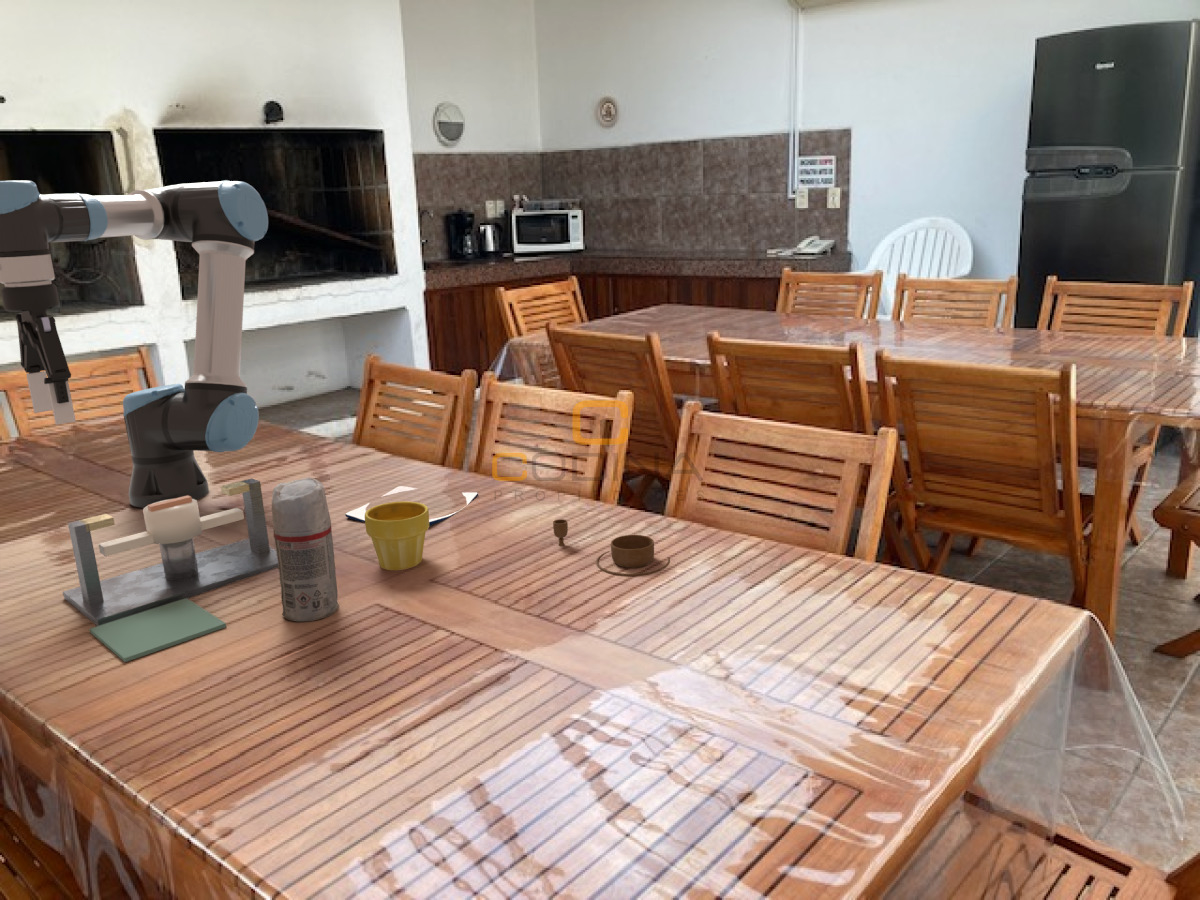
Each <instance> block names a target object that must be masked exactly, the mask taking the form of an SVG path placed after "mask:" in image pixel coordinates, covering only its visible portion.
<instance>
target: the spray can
mask: <svg viewBox="0 0 1200 900" xmlns="http://www.w3.org/2000/svg"><path fill="white" fill-rule="evenodd" d="M271 496H272V497H271V498H272V499H271V515H272V516H271V517H272V525H273V529H272V530H273V540H274V545H275V546H274V547H275V550H276V555H277V559H278V567H277V568H278V573H279V582H280V583H279V584H280V594H281V595H280V596H281V597H280V598H281V605H282V614H281V615H282V617H283V618H285V619H287V620H288V621H291V622H313V621H318V620H321V619H324V618H327V617H330V616H332V615H333V614H335V613H336V612H337V611H338V609H339V607H340V605H339V602H338V598H339V597H338V581H337V577H336V576H337V574H336V573H337V572H336V562H335V561H336V560H335V553H334V552H335V551H334V540H333V531H332V519H331V515H330V511H329V510H330V509H329V506H328V502H327V496H326V490H325V487H324V484H323V483H322V482H321V481H320V480H318V479H316V478H313V477H311V476H310V477H309V476H308V477H305V478H301V479H293V480H292V481H288V482H285V481H284V482H281V483H278V484H277V485H276V486H275V487H274V488H273V490H272V495H271Z"/></svg>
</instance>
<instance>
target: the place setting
mask: <svg viewBox="0 0 1200 900" xmlns="http://www.w3.org/2000/svg"><path fill="white" fill-rule="evenodd" d="M568 523H569V522H568V520H567V519H555V520H553V521H552V528H553V534H554V536H555V538H558V541H559V542H558V544H557V545H558V547H564V546H565V543H564V540H565V539H564V538H565V537H566V536H567V535H568V532H569V526H568V525H569V524H568ZM610 552H611V553H610ZM607 553H610V554H611V559H612V561H613V562H614V564H616V565H617V566H618V567H622V568H625V569H626V568H627V569H628V568H629V569H637V568H643V567H646V566H648V565H650V564H651V562H652V561H653V560H654V556H655V541H654V539H653V538H652V537H649V536H647V535H642V534H626V535H621V536H617V537H614V538H613V539H612V540H611V542H610V550H608V551H605V552H603V553H602V554H600V555H598V556H597V558H596V560H595V565H596V567H597V568H598V569H599V570H601V571H602V572H604V573H607V574H610V575H614V576H621V577H639V576H646V575H651V574H654V573H657V572H660V571H662V570H663V569H665V568H666V567H668V565H669V564H670V562H671V557H669V556H667V562H666V563H665V564H664V565H663V566H662V567H660V568H656V569H654V570H650V571H646V572H639V573H637V572H636V573H624V572H623V573H622V572H615V571H612V570H607V569H605V568H603V567H602V566H601V565H600V564H599V560H600V559H601V557H603V556H604V555H605V554H607Z"/></svg>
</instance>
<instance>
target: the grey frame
mask: <svg viewBox="0 0 1200 900" xmlns="http://www.w3.org/2000/svg"><path fill="white" fill-rule="evenodd" d="M220 489H221V490H220V491H221V494H223V495H226V496H228V497H232V496H235V495H240V494H242V499H243V506H244V512H245V518H246V519H245V520H246V526H247V532H248V538H245V539H242V540H241V539H240V540H239V541H235V542H231V543H228V544H225V545H221V546H217V547H212V548H211V549H206V550H203V551H200V552H196V548H195V543H194V542H195V541H194V538H192V539H189V540H186V541H182V542H177V543H170V544H159V549H160V554H161V555H160V556H161V561H162V562H161V563H158V564H154V565H151V566H148V567H143V568H139V569H137V570H134V571H130V572H127V573H123V574H120V575H116V576H112V577H109V578H105V579H102V580H100V575H99V574H100V573H99V569H98V564H97V560H96V559H97V558H96V555H95V549H94V544H93V539H92V533H91V532H92V531H97V530H100V529H104V528H108V527H112V526H115V525H116V524H115V519H114V516H112V515H110V514H108V513H103V514H99V515H96V516H91V517H86V518H84V519H83V518H82V519H78V520H75V521H71V522H67V525H68V531H69V535H70V540H71V541H70V542H71V545H72V551H73V556H74V561H75V565H76V571H77V574H78V575H77V576H78V581H79V586H77V587H74V588H70V589H68V590H64V591H62V594H63V599H64V600H65V601H67V603H69V604H70V605H72V607H74V608H75V609H76V610H78V612H80V613H81V615H84V616H85V617H86V618H87V619H88V620H89V621H90V622H91V623H93V624H94V625H95V626H96V627H97V626H100V625H103V624H106V623H109V622H112V621H116V620H119V619H122V618H125V617H128V616H131V615H134V614H138V613H141V612H144V611H147V610H150V609H153V608H157V607H160V606H163V605H166V604H169V603H172V602H175V601H179V600H182V599H185V598H187V599H190V598H192V597H196V596H198V595H201V594H204V593H207V592H210V591H213V590H215V589H218V588H219V589H220V588H222V587H224V586H227V585H228V586H229V585H230V584H233V583H237V582H239V581H243V580H245V579H249V578H250V577H254V576H257V575H259V574H263V573H265V572H268V571H271V570H275V569H277V568H278V559H277V555H276V548H272V547H271V546H270V544H269V543H270V542H269V536H268V529H267V522H266V521H267V520H266V514H265V507H264V499H263V493H262V486H261V481H260V480H258V479H254V478H248V479H244V480H240V481H236V482H232V483H227V484H223V485H220ZM262 572H263V573H262Z"/></svg>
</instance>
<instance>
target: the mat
mask: <svg viewBox="0 0 1200 900" xmlns="http://www.w3.org/2000/svg"><path fill="white" fill-rule="evenodd" d="M224 628H227V623H226V622H224V621H223V620H221V619H220V618H219V617H217V616H216V615H213V613H211V612H209V611H208V610H206V609H204V608H203V607H201V606H200V605H198V604H197V603H195V602H194V601H192V600H190V598H185V599H182V600H179V601H175V602H172V603H169V604H166V605H163V606H160V607H157V608H153V609H150V610H147V611H144V612H141V613H138V614H134V615H131V616H128V617H125V618H122V619H119V620H116V621H112V622H109V623H106V624H103V625H100V626H97V625H96V626H94V627H91V628H89V633H90V634H91V635H93V636H94V637H95V638H96V639H97V640H98V641H99V642H101V643H102V644H103V645H104V646H105V647H106V648H107V649H109V650H110V651H111V652H112V653H113V654H115V655H116V656H117V657H118V658H119V659H120V660H122V661H123V662H124V663H127V662H130V661H133V660H135V659H139V658H142V657H144V656H147V655H150V654H153V653H155V652H159V651H162V650H164V649H168V648H170V647H173V646H176V645H178V644H182V643H184V642H187V641H191V640H194V639H197V638H199V637H202V636H205V635H207V634H211V633H214V632H216V631H220V630H222V629H224Z"/></svg>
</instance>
